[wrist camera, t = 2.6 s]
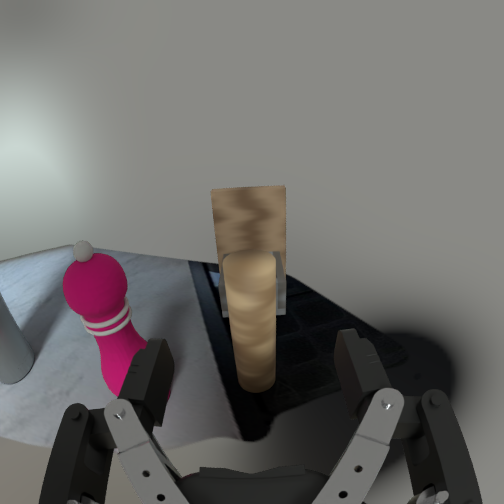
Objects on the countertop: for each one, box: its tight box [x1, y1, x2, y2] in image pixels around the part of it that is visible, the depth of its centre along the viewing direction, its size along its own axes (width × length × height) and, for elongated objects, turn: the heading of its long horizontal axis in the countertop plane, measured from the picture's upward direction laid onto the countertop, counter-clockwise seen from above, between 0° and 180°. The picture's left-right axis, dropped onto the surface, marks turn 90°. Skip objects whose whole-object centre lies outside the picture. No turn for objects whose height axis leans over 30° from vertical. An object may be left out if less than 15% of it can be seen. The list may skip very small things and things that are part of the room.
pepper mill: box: [63, 240, 170, 401], centre depth 23 cm, size 7×7×20 cm
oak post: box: [223, 249, 276, 393], centre depth 26 cm, size 4×4×16 cm
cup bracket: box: [211, 186, 286, 317], centre depth 37 cm, size 10×10×18 cm
